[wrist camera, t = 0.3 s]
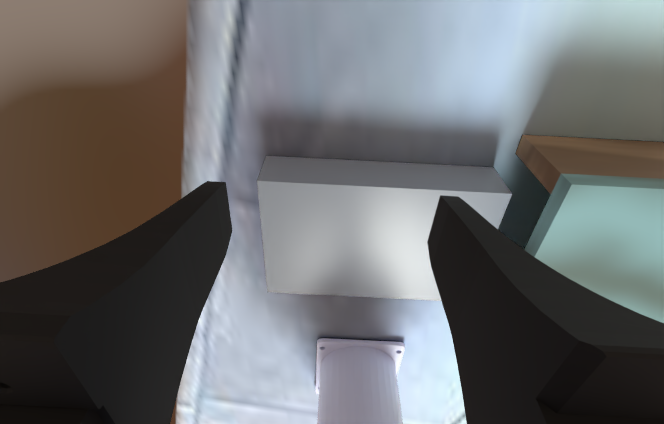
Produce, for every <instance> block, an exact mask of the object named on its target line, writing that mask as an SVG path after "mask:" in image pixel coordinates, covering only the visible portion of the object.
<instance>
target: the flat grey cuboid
mask: <svg viewBox="0 0 664 424" xmlns="http://www.w3.org/2000/svg"><path fill="white" fill-rule="evenodd" d="M257 187H258V198H259V209H260V220H261V231H262V241H263V252H264V263H265V274H266V285H267V292H270V293H290V294H311V295H331V296H352V297H372V298H393V299H413V300H434V301H442V300H441V297H440V294H439V291H438V288H437V285H436V281H435V278H434V275H433V271H432V268H431V263H430V257H429V250H428V243H427V241H428V238H429V234H430V230H431V227H432V223H433V219H434V216H435V212H436V209H437V205H438V201H439V198H440V195H443V196H458V197H460V198H461V199H462V200H464V201H465V202H466V203H467V204H469V205H470V206H471V207H472V208H473V209H474V210H476V211H477V212H478V213H479V214H480V215H481V216H483V217H484V218H485V219H486V220H487V221H488V222H490V223H491V224H492V225H493V226H494V227H496V228H497V229H498V228H499V225H500V223H501V221H502V218H503V216H504V213H505V211H506V208H507V206H508V203H509V201H510V198H511V196H512V193H511V191H510V190H509V188H508V187H507V186H506V184H505V183H504V181H503V180H502V178H501V177H500V176H499V174H498V173H497V171H496V170H495V169H494V167H478V166H459V165H439V164H419V163H400V162H380V161H361V160H341V159H322V158H302V157H283V156H266V158H265V161H264V163H263V166H262V169H261V171H260V174H259V177H258V179H257Z"/></svg>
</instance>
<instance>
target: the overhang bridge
mask: <svg viewBox="0 0 664 424" xmlns="http://www.w3.org/2000/svg"><path fill="white" fill-rule="evenodd" d="M515 154H516V155H517V156H518V157H519V158H520V159H521V161H522V162H523V163H524V164H525V165H526V166H527V167H528V169H529V170H530V171H531V172H532V173H533V174H534V176H535V177H536V178H537V179H538V180H539V181H540V183H541V184H542V185H543V186H544V187H545V188H546V190H547V191H548V192H549V193H550V194H551V195H550V197H549V199H548V201H547V204H546V206H545V208H544V210H543V212H542V214H541V216H540V218H539V220H538V222H537V224H536V226H535V228H534V230H533V233H532V235H531V237H530V239H529V241H528V243H527V245H526V247H525V249H524V250H525V251H526V252H528V253H529V254H531V255H532V256H534V257H535V258H536V259H538V260H540V261H541V262H543V263H544V264H546V265H547V266H549V267H551V268H552V269H554V270H555V271H557V272H559V273H560V274H562V275H564V276H565V277H567V278H569V279H571V280H572V281H574V282H576V283H578V284H580V285H582V286H583V287H585V288H587V289H589V290H591V291H593V292H595V293H597V294H599V295H601V296H603V297H605V298H607V299H609V300H611V301H613V302H615V303H617V304H620V305H622V306H624V307H626V308H628V309H630V310H633V311H635V312H637V313H639V314H642V315H644V316H647V317H649V318H652V319H654V320H657V321H659V322H662V323H664V142H653V141H633V140H614V139H595V138H575V137H556V136H537V135H522V138H521V140H520V143H519V145H518V148H517V151H516V153H515Z"/></svg>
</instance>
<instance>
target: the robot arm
mask: <svg viewBox="0 0 664 424" xmlns="http://www.w3.org/2000/svg"><path fill="white" fill-rule="evenodd" d="M231 233H232V225H231V218H230V211H229V203H228V196H227V189H226V182H210V181H207V182H205V183H204V184H202V185H201V186H199V187H198V188H196V189H195V190H193V191H192V192H190V193H189V194H188V195H186V196H185V197H183V198H182V199H181V200H179V201H178V202H176V203H175V204H173V205H172V206H170V207H169V208H167V209H166V210H164V211H163V212H161V213H160V214H158V215H156V216H155V217H153V218H151V219H150V220H148V221H147V222H145V223H143V224H142V225H140V226H139V227H137V228H135V229H133V230H132V231H130V232H128V233H126V234H124V235H122V236H120V237H118V238H116V239H114V240H112V241H110V242H108V243H106V244H104V245H102V246H100V247H97V248H95V249H93V250H90V251H88V252H86V253H83V254H81V255H79V256H76V257H74V258H71V259H69V260H67V261H64V262H62V263H59V264H56V265H53V266H51V267H48V268H45V269H42V270H39V271H36V272H33V273H30V274H28V275H25V276H21V277H18V278H15V279H11V280H8V281H5V282H1V283H0V424H170V422H171V417H172V413H173V409H174V405H175V401H176V397H177V393H178V389H179V386H180V382H181V378H182V374H183V371H184V367H185V364H186V360H187V356H188V353H189V349H190V346H191V343H192V339H193V336H194V333H195V330H196V326H197V323H198V320H199V317H200V315H201V312H202V310H203V307H204V305H205V303H206V300H207V298H208V296H209V293H210V291H211V289H212V286H213V284H214V282H215V279H216V277H217V275H218V272H219V270H220V268H221V265H222V263H223V261H224V258H225V256H226V252H227V249H228V245H229V241H230V237H231ZM427 243H428V250H429V257H430V263H431V268H432V271H433V275H434V278H435V281H436V285H437V288H438V291H439V294H440V297H441V300H442V304H443V307H444V310H445V313H446V316H447V319H448V323H449V326H450V330H451V334H452V338H453V343H454V349H455V354H456V359H457V364H458V370H459V376H460V381H461V387H462V393H463V400H464V407H465V413H466V420H467V424H664V323H662V322H659V321H657V320H654V319H652V318H649V317H647V316H644V315H642V314H639V313H637V312H635V311H633V310H630V309H628V308H626V307H624V306H622V305H620V304H617V303H615V302H613V301H611V300H609V299H607V298H605V297H603V296H601V295H599V294H597V293H595V292H593V291H591V290H589V289H587V288H585V287H583V286H582V285H580V284H578V283H576V282H574V281H572V280H571V279H569V278H567V277H565V276H564V275H562V274H560V273H559V272H557V271H555V270H554V269H552V268H551V267H549V266H547V265H546V264H544V263H543V262H541V261H540V260H538V259H536V258H535V257H534V256H532V255H531V254H529V253H528V252H526V251H525V250H524V249H522V248H521V247H520V246H518V245H517V244H516V243H514V242H513V241H512V240H510V239H509V238H508V237H507V236H505V235H504V234H503V233H502V232H500V231H499V230H498V229H497V228H496V227H494V226H493V225H492V224H491V223H490V222H488V221H487V220H486V219H485V218H484V217H483V216H481V215H480V214H479V213H478V212H477V211H476V210H474V209H473V208H472V207H471V206H470V205H469V204H467V203H466V202H465V201H464V200H462V199H461V198H460V197H458V196H443V195H440V198H439V201H438V205H437V209H436V212H435V216H434V219H433V223H432V227H431V230H430V234H429V238H428V241H427ZM404 350H405V344H404V343H402V342H390V341H370V340H349V339H328V338H321V339H318V341H317V359H316V389H315V393H316V394H317V395H319V402H318V420H317V424H403V422H402V414H401V406H400V398H399V390H398V383H397V375H398V372H399V368H400V365H401V361H402V358H403V354H404Z"/></svg>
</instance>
